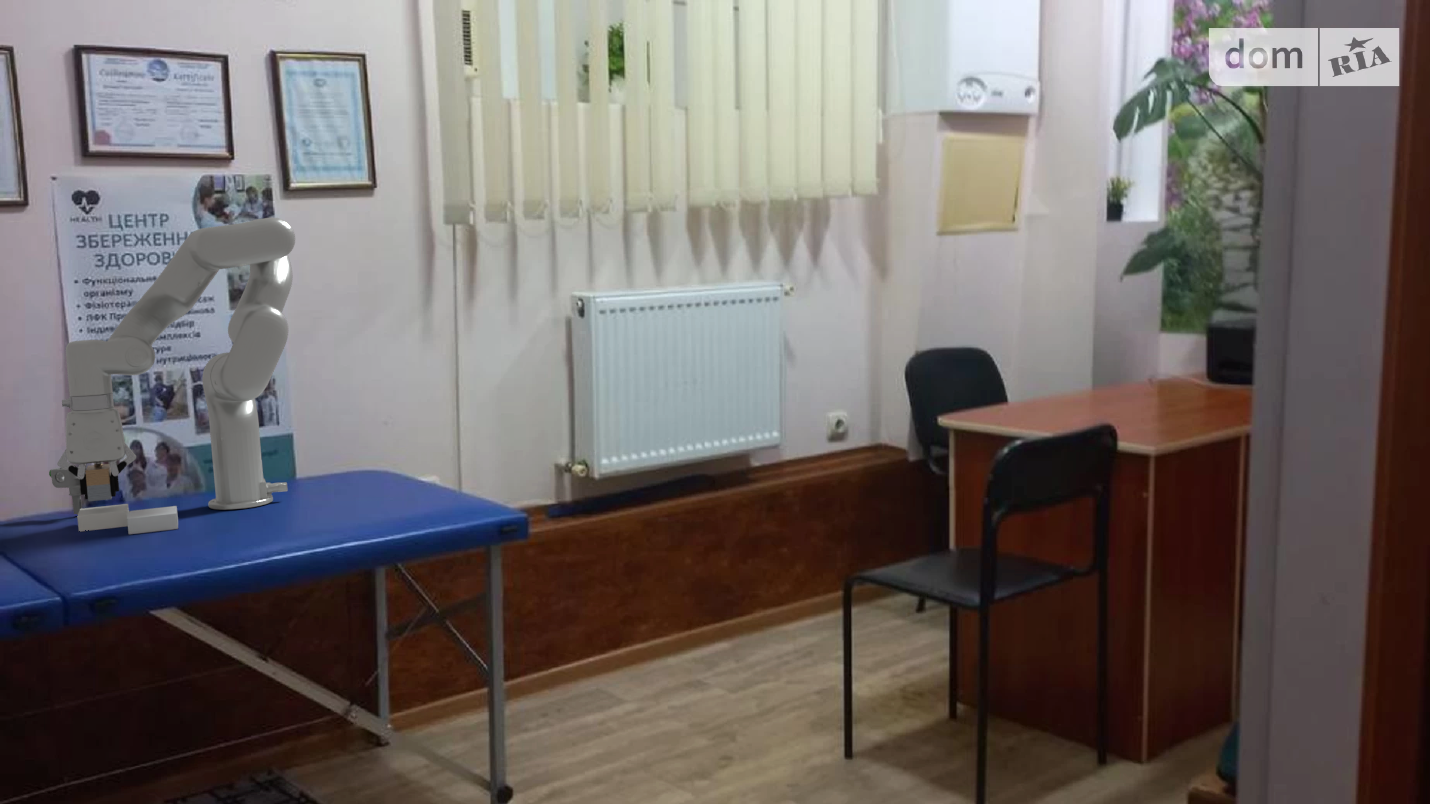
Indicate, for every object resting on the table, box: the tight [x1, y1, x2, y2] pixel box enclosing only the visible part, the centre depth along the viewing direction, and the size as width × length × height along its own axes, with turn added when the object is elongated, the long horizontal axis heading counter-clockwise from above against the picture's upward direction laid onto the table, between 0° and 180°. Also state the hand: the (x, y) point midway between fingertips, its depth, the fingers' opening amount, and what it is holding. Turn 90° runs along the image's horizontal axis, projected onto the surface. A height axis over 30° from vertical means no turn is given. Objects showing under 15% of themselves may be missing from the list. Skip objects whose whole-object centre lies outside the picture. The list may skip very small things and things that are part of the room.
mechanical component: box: [48, 466, 83, 515], centre depth 261 cm, size 3×10×10 cm, turn 79°
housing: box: [85, 462, 113, 502], centre depth 250 cm, size 7×4×7 cm, turn 23°
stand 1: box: [76, 503, 130, 532], centre depth 251 cm, size 9×9×3 cm
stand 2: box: [127, 505, 179, 535], centre depth 247 cm, size 9×9×3 cm
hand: (100, 495), depth 251 cm, fingers closed on housing, 4 cm apart
